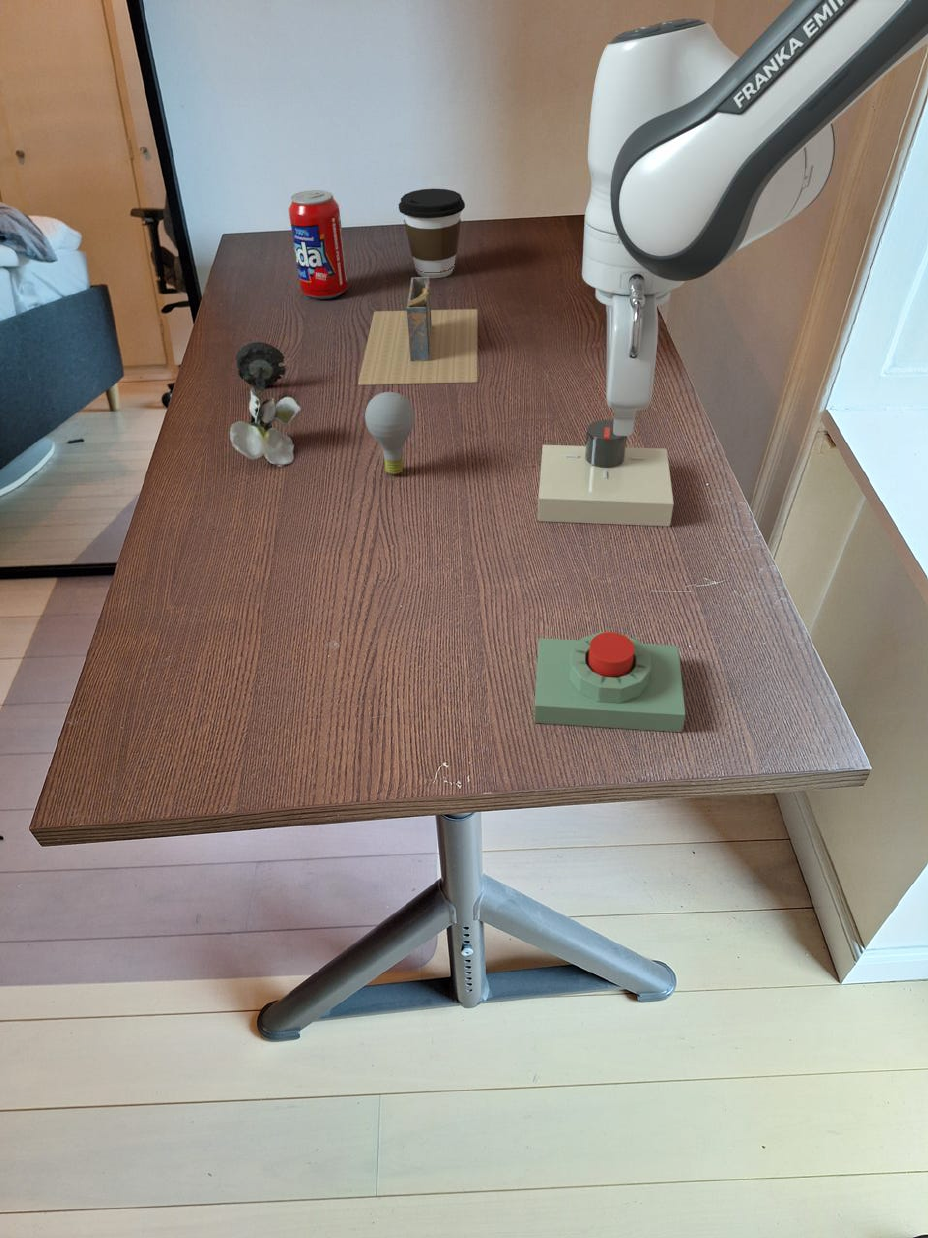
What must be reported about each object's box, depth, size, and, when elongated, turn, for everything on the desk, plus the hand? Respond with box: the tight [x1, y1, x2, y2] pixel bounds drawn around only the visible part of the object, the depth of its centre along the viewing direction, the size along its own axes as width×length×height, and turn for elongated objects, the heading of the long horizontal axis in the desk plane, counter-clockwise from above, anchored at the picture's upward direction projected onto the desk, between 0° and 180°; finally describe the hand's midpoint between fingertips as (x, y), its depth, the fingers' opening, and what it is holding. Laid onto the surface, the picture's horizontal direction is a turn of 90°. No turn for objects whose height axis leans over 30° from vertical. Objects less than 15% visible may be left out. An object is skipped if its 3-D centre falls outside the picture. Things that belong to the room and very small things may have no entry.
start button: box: [588, 631, 635, 678], centre depth 70 cm, size 4×4×2 cm
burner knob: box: [585, 419, 628, 468], centre depth 94 cm, size 4×4×4 cm
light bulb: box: [364, 391, 415, 475], centre depth 96 cm, size 6×6×10 cm
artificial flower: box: [229, 341, 302, 468], centre depth 106 cm, size 9×22×10 cm, turn 6°
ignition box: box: [533, 631, 686, 733], centre depth 71 cm, size 12×8×4 cm, turn 84°
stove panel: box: [537, 444, 675, 528], centre depth 94 cm, size 14×13×3 cm
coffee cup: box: [398, 188, 466, 279], centre depth 143 cm, size 11×11×12 cm
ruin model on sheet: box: [357, 276, 479, 386], centre depth 122 cm, size 25×16×10 cm, turn 179°
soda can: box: [288, 189, 349, 300], centre depth 136 cm, size 8×8×15 cm
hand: (622, 407), depth 80 cm, fingers open, 8 cm apart
